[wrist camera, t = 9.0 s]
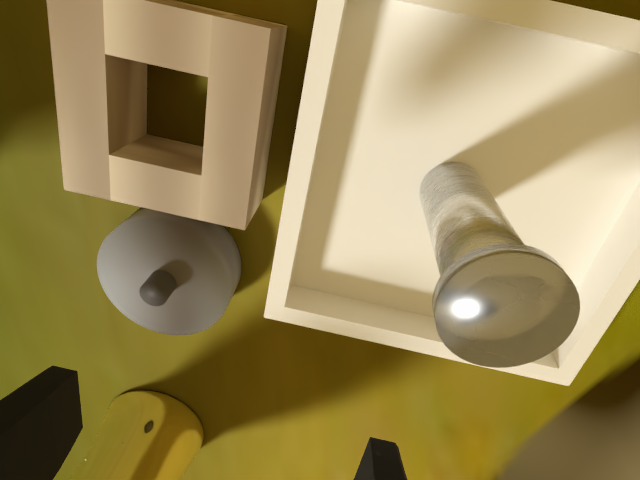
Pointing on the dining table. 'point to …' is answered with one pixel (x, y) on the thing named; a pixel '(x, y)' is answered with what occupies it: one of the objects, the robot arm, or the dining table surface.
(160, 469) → the beer glass
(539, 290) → the pin
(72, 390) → the robot arm
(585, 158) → the tray
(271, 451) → the dining table surface
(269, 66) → the block
